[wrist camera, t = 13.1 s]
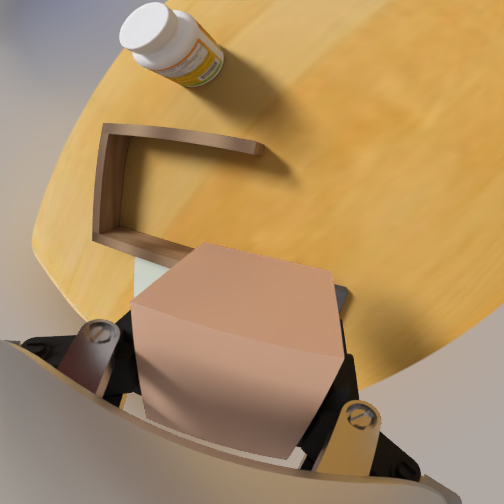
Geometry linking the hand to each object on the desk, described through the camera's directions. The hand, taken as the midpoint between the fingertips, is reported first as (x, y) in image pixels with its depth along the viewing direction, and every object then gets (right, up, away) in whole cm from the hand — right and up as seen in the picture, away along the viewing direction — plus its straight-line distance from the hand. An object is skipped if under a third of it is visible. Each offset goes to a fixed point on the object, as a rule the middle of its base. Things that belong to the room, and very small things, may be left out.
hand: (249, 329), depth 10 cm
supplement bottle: (-5, +21, +10) cm, 24 cm away
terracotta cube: (0, +1, +1) cm, 1 cm away
